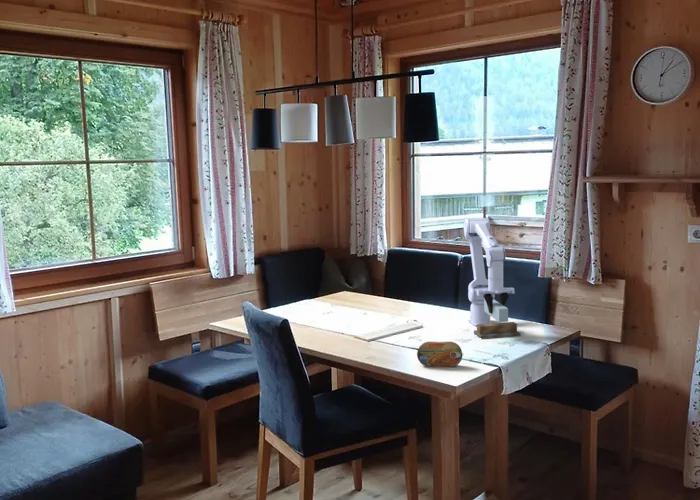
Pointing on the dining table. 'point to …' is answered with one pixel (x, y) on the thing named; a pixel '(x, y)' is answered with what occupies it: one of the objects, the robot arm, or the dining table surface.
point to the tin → (439, 354)
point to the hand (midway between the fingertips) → (495, 312)
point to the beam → (497, 311)
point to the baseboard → (388, 331)
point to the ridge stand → (497, 330)
